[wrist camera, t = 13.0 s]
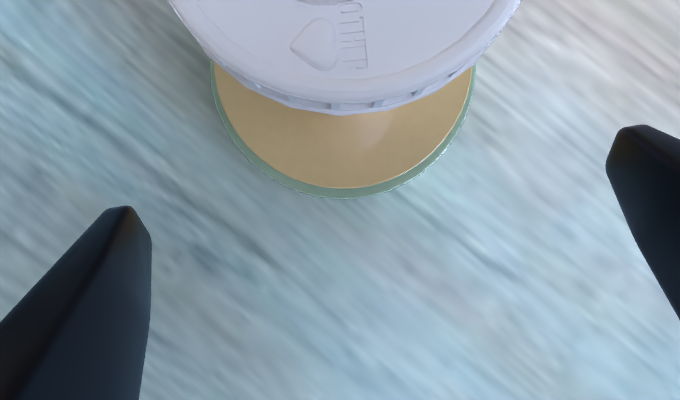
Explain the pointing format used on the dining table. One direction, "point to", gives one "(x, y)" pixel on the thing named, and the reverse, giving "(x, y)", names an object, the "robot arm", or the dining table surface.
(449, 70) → the smoothie
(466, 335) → the dining table surface
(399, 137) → the jar
